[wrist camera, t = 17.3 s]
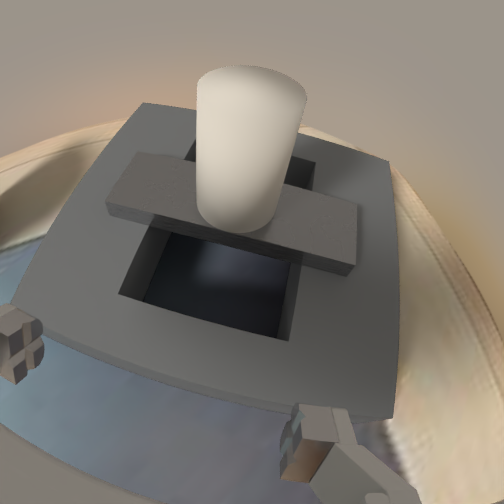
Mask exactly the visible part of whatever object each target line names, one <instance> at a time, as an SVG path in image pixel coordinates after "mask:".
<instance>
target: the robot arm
mask: <svg viewBox="0 0 504 504" xmlns="http://www.w3.org/2000/svg"><path fill="white" fill-rule="evenodd" d="M42 333H43V323H42V322H41V321H40V320H39V319H38V318H36V317H34V316H32V315H30V314H28V313H26V312H24V311H23V310H21V309H18V308H17V307H15V306H13V305H11V304H7V303H6V304H4V305H2V306H0V376H2V377H3V378H5V379H7V380H8V381H10V382H12V383H13V384H15V385H16V384H18V383H19V382H20V381H21V380H22V379H23V378H24V377H26V376H27V372H28V370H30V369H35V368H36V367H37V366H38V365H39V364H40V363H41V361H42V359H43V356H44V343H43V341H42V339H41V337H40V336H41V335H42ZM280 452H281V454H282V455H283V457H282V459H281V461H280V479H282V480H289V481H296V482H304V483H309V486H310V487H311V489H312V490H313V491H314V493H315V494H316V495H317V497H318V498H319V500H320V501H321V502H322V504H422V503H421V501H420V498H419V495H418V493H417V490H416V489H415V488H414V487H412V486H411V485H410V484H408V483H407V482H406V481H405V480H403V479H402V478H401V477H400V476H398V475H397V474H396V473H395V472H394V471H392V470H391V469H390V468H389V467H387V466H386V465H385V464H384V463H383V462H381V461H380V460H379V459H378V458H377V457H375V456H374V455H373V454H372V453H371V452H370V451H368V450H367V449H366V448H365V447H364V446H362V445H358V444H357V441H356V438H355V434H354V431H353V428H352V424H351V421H350V418H349V415H348V411H347V410H346V409H345V408H336V407H323V406H317V405H310V404H304V403H298V402H296V403H295V405H294V406H293V408H292V411H291V420H290V421H288V422H287V423H286V424H285V427H284V429H283V432H282V436H281V439H280ZM0 504H167V503H163V502H160V501H157V500H154V499H151V498H148V497H145V496H142V495H139V494H136V493H133V492H131V491H128V490H125V489H123V488H120V487H118V486H115V485H113V484H110V483H108V482H106V481H103V480H101V479H99V478H96V477H94V476H92V475H90V474H88V473H86V472H83V471H81V470H79V469H77V468H75V467H73V466H71V465H69V464H67V463H65V462H63V461H62V460H60V459H58V458H56V457H54V456H52V455H51V454H49V453H47V452H45V451H44V450H42V449H40V448H38V447H37V446H35V445H33V444H32V443H30V442H29V441H27V440H25V439H24V438H22V437H21V436H19V435H18V434H16V433H15V432H13V431H12V430H10V429H9V428H7V427H6V426H4V425H3V424H1V423H0ZM492 504H504V500H501V501H498V502H496V503H492Z"/></svg>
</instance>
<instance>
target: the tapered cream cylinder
mask: <svg viewBox="0 0 504 504" xmlns="http://www.w3.org/2000/svg"><path fill="white" fill-rule="evenodd" d="M306 101H307V95H306V92H305V90H304V89H303V87H302V86H301V85H300V84H299V83H298V82H296V81H295V80H294V79H292V78H290V77H288V76H286V75H284V74H282V73H280V72H277V71H274V70H271V69H267V68H262V67H256V66H243V65H240V66H227V67H222V68H218V69H215V70H212V71H210V72H208V73H206V74H205V75H204V76H202V77H201V78H200V80H199V81H198V85H197V120H196V200H197V208H198V210H199V212H200V214H201V216H202V217H203V218H204V219H205V220H206V221H207V222H208V223H209V224H211V225H212V226H214V227H216V228H218V229H220V230H223V231H226V232H232V233H246V232H251V231H255V230H257V229H260V228H262V227H263V226H265V225H266V224H267V223H268V222H269V221H270V220H271V219H272V218H273V216H274V214H275V211H276V208H277V204H278V201H279V197H280V194H281V190H282V186H283V183H284V179H285V176H286V172H287V169H288V165H289V162H290V158H291V155H292V151H293V147H294V144H295V140H296V137H297V133H298V130H299V126H300V122H301V119H302V115H303V112H304V108H305V104H306Z"/></svg>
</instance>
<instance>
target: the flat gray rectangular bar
mask: <svg viewBox="0 0 504 504" xmlns="http://www.w3.org/2000/svg"><path fill="white" fill-rule="evenodd" d="M105 204H106V207H107V210H108V213H109V216H113V217H117V218H120V219H124V220H128V221H132V222H136V223H140V224H144V225H147V226H151V227H155V228H159V229H163V230H167V231H171V232H174V233H178V234H182V235H186V236H190V237H194V238H198V239H202V240H205V241H209V242H213V243H217V244H221V245H225V246H229V247H232V248H236V249H240V250H244V251H248V252H252V253H256V254H260V255H263V256H267V257H271V258H275V259H279V260H283V261H287V262H291V263H294V264H298V265H302V266H306V267H310V268H314V269H318V270H322V271H325V272H329V273H333V274H337V275H341V276H345V277H347V276H348V274H349V273H350V272H351V271H352V269H353V268H354V267H355V266H356V242H357V204H354V203H351V202H347V201H344V200H341V199H337V198H334V197H331V196H327V195H324V194H320V193H317V192H313V191H310V190H306V189H302V188H299V187H295V186H291V185H288V184H284V183H283V186H282V190H281V194H280V197H279V201H278V204H277V208H276V211H275V214H274V216H273V218H272V219H271V220H270V221H269V222H268V223H267V224H266V225H265V226H263V227H262V228H260V229H257V230H255V231H251V232H246V233H232V232H226V231H223V230H220V229H218V228H216V227H214V226H212V225H211V224H209V223H208V222H207V221H206V220H205V219H204V218H203V217H202V216H201V214H200V212H199V210H198V208H197V200H196V162H191V161H187V160H182V159H177V158H172V157H167V156H162V155H157V154H151V153H146V152H140V151H137V153H136V154H135V156H134V157H133V158H132V160H131V161H130V163H129V164H128V166H127V167H126V169H125V170H124V172H123V173H122V175H121V176H120V178H119V179H118V181H117V182H116V184H115V185H114V187H113V189H112V190H111V192H110V193H109V195H108V197H107V198H106V200H105Z"/></svg>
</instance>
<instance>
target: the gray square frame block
mask: <svg viewBox="0 0 504 504" xmlns="http://www.w3.org/2000/svg"><path fill="white" fill-rule="evenodd" d="M196 120H197V110H192V109H186V108H179V107H172V106H166V105H158V104H151V103H142V104H141V106H140V107H139V108H138V109H137V110H136V111H135V113H133V115H132V116H131V117H130V118H129V119H128V120H127V122H126V123H125V124H124V125H123V126H122V128H121V129H120V130H119V131H118V132H117V134H116V135H115V136H114V137H113V139H112V140H111V141H110V142H109V144H108V145H107V146H106V147H105V149H104V150H103V151H102V152H101V154H100V155H99V156H98V158H97V159H96V160H95V162H94V163H93V164H92V166H91V167H90V168H89V170H88V171H87V173H86V174H85V175H84V177H83V178H82V180H81V181H80V182H79V184H78V185H77V187H76V188H75V190H74V191H73V193H72V194H71V196H70V197H69V199H68V200H67V202H66V203H65V205H64V206H63V208H62V209H61V211H60V213H59V214H58V216H57V217H56V219H55V221H54V222H53V224H52V225H51V227H50V229H49V230H48V232H47V234H46V236H45V237H44V239H43V241H42V242H41V244H40V246H39V248H38V250H37V251H36V253H35V255H34V257H33V259H32V261H31V262H30V264H29V266H28V268H27V270H26V272H25V274H24V276H23V278H22V280H21V282H20V284H19V286H18V288H17V290H16V292H15V294H14V297H13V299H12V301H11V303H10V304H11V305H13V306H15V307H17V308H18V309H21V310H23V311H24V312H26V313H28V314H30V315H32V316H34V317H36V318H38V319H39V320H40V321H41V322H42V323H43V333H42V334H43V335H45V336H47V337H49V338H51V339H53V340H55V341H57V342H59V343H62V344H64V345H66V346H68V347H70V348H73V349H75V350H77V351H79V352H82V353H84V354H86V355H89V356H91V357H94V358H96V359H98V360H101V361H103V362H106V363H108V364H111V365H114V366H116V367H119V368H121V369H124V370H127V371H130V372H132V373H135V374H138V375H141V376H144V377H146V378H149V379H152V380H155V381H158V382H161V383H165V384H168V385H171V386H174V387H177V388H181V389H184V390H187V391H191V392H194V393H198V394H202V395H205V396H209V397H213V398H216V399H220V400H224V401H228V402H233V403H237V404H241V405H245V406H250V407H255V408H259V409H264V410H269V411H274V412H279V413H285V414H290V415H291V411H292V408H293V406H294V405H295V403H296V402H298V403H304V404H310V405H317V406H323V407H336V408H345V409H346V410H347V411H348V415H349V418H350V421H351V423H356V424H357V423H365V422H372V421H379V420H385V419H391V418H393V412H394V403H395V393H396V381H397V368H398V350H399V316H400V294H399V260H398V242H397V228H396V216H395V206H394V197H393V188H392V180H391V173H390V166H389V161H386V160H383V159H380V158H378V157H375V156H372V155H369V154H366V153H363V152H360V151H357V150H354V149H351V148H348V147H345V146H342V145H338V144H335V143H332V142H329V141H325V140H322V139H319V138H315V137H312V136H308V135H304V134H301V133H297V137H296V140H295V144H294V147H293V151H292V155H291V158H290V162H289V165H288V169H287V172H286V176H285V179H284V184H288V185H291V186H295V187H299V188H302V189H306V190H310V191H313V192H317V193H320V194H324V195H327V196H331V197H334V198H337V199H341V200H344V201H347V202H351V203H354V204H357V242H356V266H355V267H354V268H353V269H352V271H351V272H350V273H349V274H348V276H347V277H345V276H341V275H337V274H333V273H329V272H325V271H322V270H318V269H314V268H310V267H306V266H302V265H298V264H294V263H291V264H290V270H289V275H288V281H287V286H286V291H285V297H284V302H283V307H282V312H281V317H280V323H279V328H278V333H277V338H276V339H275V338H271V337H267V336H263V335H258V334H254V333H250V332H246V331H242V330H238V329H235V328H231V327H227V326H223V325H219V324H216V323H212V322H208V321H205V320H201V319H198V318H194V317H190V316H187V315H184V314H180V313H177V312H173V311H170V310H167V309H163V308H160V307H157V306H154V305H150V304H147V303H144V302H143V300H144V297H145V294H146V292H147V289H148V287H149V284H150V282H151V279H152V277H153V275H154V272H155V270H156V267H157V265H158V262H159V260H160V258H161V255H162V253H163V251H164V248H165V246H166V244H167V241H168V239H169V237H170V234H171V231H167V230H163V229H159V228H155V227H151V226H147V225H144V224H140V223H136V222H132V221H128V220H124V219H120V218H117V217H113V216H109V213H108V210H107V207H106V204H105V200H106V198H107V197H108V195H109V193H110V192H111V190H112V189H113V187H114V185H115V184H116V182H117V181H118V179H119V178H120V176H121V175H122V173H123V172H124V170H125V169H126V167H127V166H128V164H129V163H130V161H131V160H132V158H133V157H134V156H135V154H136V153H137V151H140V152H146V153H151V154H157V155H162V156H167V157H172V158H177V159H182V160H187V161H191V162H196Z"/></svg>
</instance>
